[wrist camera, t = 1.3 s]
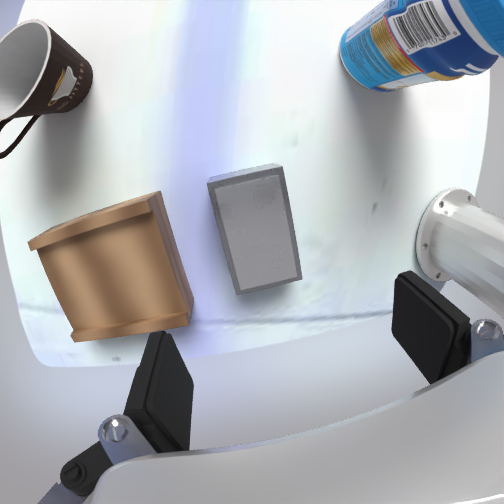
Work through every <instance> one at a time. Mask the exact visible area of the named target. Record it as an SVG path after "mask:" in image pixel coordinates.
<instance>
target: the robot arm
mask: <svg viewBox="0 0 504 504" xmlns="http://www.w3.org/2000/svg"><path fill="white" fill-rule="evenodd" d="M416 251H417V258H418V262H419V265H420V267H421V269H422V270H423V272H424V273H425V274H426V275H427V276H429V277H430V278H431V279H433V280H435V281H440V282H443V281H449V280H451V279H453V280H454V281H456V282H457V283H458V284H460V285H461V286H462V287H464V288H465V289H466V290H468V291H469V292H470V293H472V294H473V295H475V296H476V297H477V298H478V299H480V300H481V301H482V302H483V303H485V304H486V305H487V306H488V307H490V308H491V309H492V310H493V311H495V312H496V313H497V314H498V315H499V316H501V317H502V318H503V319H504V217H501V216H499V215H496V214H494V213H491V212H489V211H486V210H483V209H481V208H480V207H479V204H478V202H477V201H476V199H475V197H474V196H473V195H472V194H471V193H469V192H468V191H466V190H463V189H460V188H449V189H447V190H444V191H442V192H441V193H440V194H438V195H437V196H436V197H435V198H434V199H433V200H432V202H431V203H430V204H429V206H428V207H427V209H426V211H425V213H424V215H423V217H422V219H421V222H420V226H419V229H418V234H417V242H416ZM469 321H470V318H469V317H467V316H466V315H465V314H464V313H463V312H462V311H461V310H459V309H458V308H457V307H456V306H455V305H454V304H452V303H451V302H450V301H449V300H448V299H446V298H445V297H444V296H443V295H442V294H440V293H439V292H438V291H437V290H436V289H434V288H433V287H432V286H431V285H429V284H428V283H427V282H426V281H424V280H423V279H422V278H420V277H419V276H418V275H417V274H415V273H414V272H413V271H411V270H410V271H406V272H403V273H400V274H399V275H398V277H397V278H396V279H395V285H394V304H393V318H392V334H393V336H394V337H395V338H396V340H397V341H398V342H399V344H400V345H401V346H402V348H403V349H404V350H405V351H406V353H407V354H408V355H409V357H410V358H411V359H412V361H413V362H414V363H415V365H416V366H417V367H418V368H419V370H420V371H421V373H422V374H423V375H424V377H425V378H426V379H427V381H428V382H429V383H430V385H429V386H427V387H425V388H423V389H421V390H419V391H416V392H414V393H412V394H410V395H408V396H406V397H403V398H401V399H399V400H397V401H394V402H392V403H389V404H387V405H384V406H382V407H379V408H377V409H374V410H371V411H369V412H366V413H364V414H361V415H358V416H355V417H352V418H349V419H346V420H343V421H340V422H337V423H333V424H330V425H327V426H323V427H320V428H316V429H312V430H309V431H305V432H301V433H297V434H293V435H288V436H284V437H279V438H275V439H270V440H264V441H259V442H254V443H247V444H241V445H234V446H227V447H219V448H211V449H201V450H189V445H190V429H191V414H192V401H193V389H194V385H193V380H192V378H191V376H190V374H189V372H188V370H187V368H186V366H185V364H184V361H183V359H182V357H181V355H180V353H179V351H178V349H177V347H176V344H175V342H174V340H173V338H172V336H171V334H170V333H168V334H167V333H166V332H165V331H158V332H152V333H150V335H149V338H148V341H147V344H146V347H145V351H144V354H143V357H142V360H141V363H140V366H139V367H138V368H137V370H136V373H135V376H134V379H133V383H132V386H131V389H130V393H129V396H128V399H127V403H126V406H125V410H124V413H123V415H113V416H111V417H109V418H107V419H106V420H104V421H103V422H102V424H101V425H100V427H99V430H98V437H99V440H100V441H98V442H97V443H95V444H94V445H92V446H91V447H90V448H88V449H87V450H85V451H84V452H82V453H81V454H79V455H78V456H76V457H75V458H73V459H72V460H70V461H68V462H67V463H66V464H65V465H64V466H63V468H62V470H61V473H60V479H61V483H60V484H58V483H55V484H54V486H53V487H52V488H51V489H50V490H49V491H48V492H47V493H46V495H45V496H44V497H43V498H42V499H41V500H40V501H39V503H38V504H504V335H503V331H502V328H501V327H500V325H499V324H498V323H496V322H495V321H493V320H490V319H480V320H477V321H476V322H474V323H473V325H471V324H470V323H469Z"/></svg>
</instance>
